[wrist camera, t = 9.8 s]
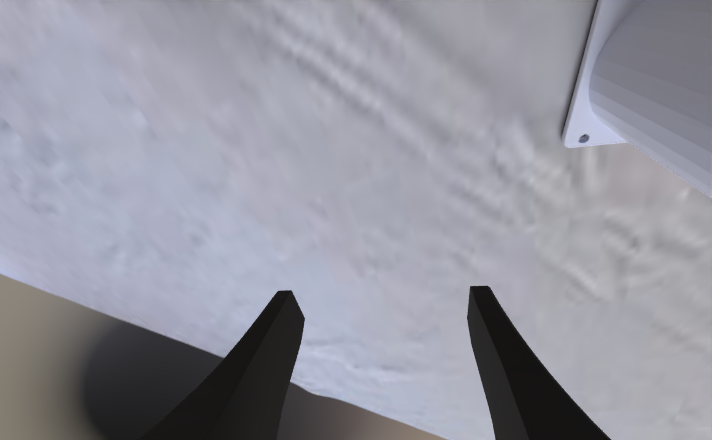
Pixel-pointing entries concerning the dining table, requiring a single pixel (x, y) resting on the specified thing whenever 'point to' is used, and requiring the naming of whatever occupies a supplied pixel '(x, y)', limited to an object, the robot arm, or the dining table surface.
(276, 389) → the robot arm
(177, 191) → the dining table surface
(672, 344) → the dining table surface
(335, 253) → the dining table surface
